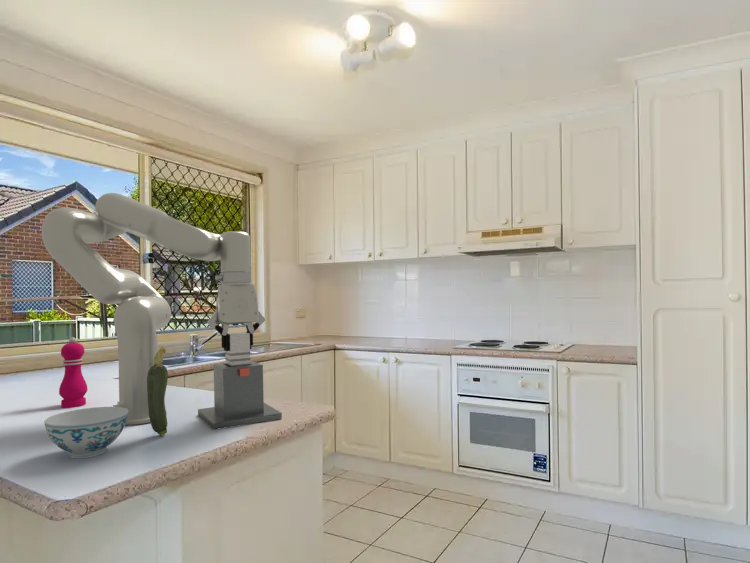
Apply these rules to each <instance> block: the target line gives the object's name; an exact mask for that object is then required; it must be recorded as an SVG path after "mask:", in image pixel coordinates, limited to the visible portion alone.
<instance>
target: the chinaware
mask: <svg viewBox="0 0 750 563" xmlns="http://www.w3.org/2000/svg"><path fill="white" fill-rule="evenodd" d="M127 417H128V409H126V408H122V407H113V406H96V407H88V408H81V409H79V408H78V409H73V410H68V411H64V412H60V413H56V414H54V415H51V416H49V417H47V418H46V419H45V420H44V422H43V423H44V426H45V430H46V432H47V435H48V437H49V438H50V440H51V441H52V443H53V444H54V445H56V447H58V448H60V449H61V450H63V451H65V452H67V453H68V454H69V457H70V458H73V459H85V458H92V457H96V456H99V455H102V454H104V453H106V452H107V450H108V446H110V445H112V443H114V442H115V441H116V440H117V438H118V437H119V436H120V435H121V434H122V432H123V430H124V428H125V426H126V425H125V424H126V421H127Z"/></svg>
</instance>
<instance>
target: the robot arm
mask: <svg viewBox="0 0 750 563" xmlns="http://www.w3.org/2000/svg"><path fill="white" fill-rule="evenodd" d="M94 209H95V211H92V212H88V211H85V210H81V209H77V208H72V207H59V208H55V209H52V210H51V211H50V212H48V213H47V214H46V216H45V217H44V220H43V222H42V225H41V238H42V242H43V244H44V247H45V249H46V251H47V252H48V253H49V255H50V256H51V257H52V258H53V260H54V261H55V262H56V263H57V264H58V265H60V266H61V268H63V269H64V270H65V271H66V272H67V273H68V274H69V275H70V276H72V278H73V279H74V280H75V281H76V282H77V283H78V284H79V285H80V286H81V287H82V288H83V289H85V290H86V292H88V294H90V296H91V297H92V298H93V299H95V300H96V301H97V302H99V303H101V304H104V305H118V306H117V307H116V309H115V312H114V314H113V315H114V316H113V320H114V322H113V324H114V328H115V333H116V339H117V350H118V351H117V352H118V353H117V355H118V358H117V359H118V396H119V397H118V398H119V401H117V402H116V403H117V404H113V406H112V407H122V408H126V409H128V417H127V421H126V424H125V426H130V425H131V426H132V425H133V426H134V425H142V424H148V423H151V422H150V418H149V408H148V395H147V375H148V371H149V369H150V368H151V367H152V366H153V365H154V357H155V355H156V353H157V352H158V350H160V348H159V346H160V345H159V340H158V336H157V331H158V330H161V329H163V328H164V327H166V326H167V325H169V323H170V321H171V318H172V309H171V307H170V304H169V303H168V300H166V299H165V298H164V297H163V296H162V295H161V294H160V293H159V292H158V291H157V290H156V289H155V288H154V287H153V286H151V284H150V283H148V282H147V281H146V280H145V278H143V277H142V276H141V275H140V274H138V273H137V272H135V271H132V270H129V269H126V268H117V267H115V266H113V265H112V264H111V263H109V262H108V261H107V260H106V259H105V258H103V256H102V255H101V254H100V253H99V252H98V251H97V250H95V249H94V248H93V247H91V246H90V244H91V245H92V244H93V245H94V244H98V243H102V242H104V241H107V240H110V239H113V238H115V237H119V236H121V235H124V234H126V233H129V234H131V235H135V236H136V237H138V238H141V239H143V240H146V241H148V242H150V243H152V244H157V245H158V246H161V247H162V248H166V249H167V250H170V251H173V252H175V253H178V254H179V255H183V256H186V257H188V258H190V259H194V260H199V261H200V260H201V261H205V262H215V261H220V273H219V274H216V275H215V277H214V278H215V281H219V282H220V284H219V285H218V287H217V293H216V302H215V303H216V305H215V311H214V313H213V314H212V315H211V317H210V318H208V321H207V325H209V326H210V327H211V328H213V329H214V330H216V332H218V334H220V335H221V336H220V337H221V339H220V340H221V348H222V349H223V351H224V352H225V351H229V335H228V333H229V332H228V331H229V327H230V324H231V325H233V324H236V325H237V324H244V325H245V328H246V333H250V350H252V346H254V334H255V332H256V331H257V329H258V328H259V327H260V326H261V325H262V324H264V323H265V321H266V318H265V317H264V316H263V315H262V313H260V311H259V302H258V296H257V295H258V293H257V289H256V285H255V284H252V265H251V264H252V260H251V258H252V255H251V253H252V251H251V250H252V248H251V236H250V234H249V233H248V232H245V231H236V230H235V231H233V230H232V231H225V232H223V233H214V232H211V231H208V230H206V229H205V230H204V229H203V228H202V229H201V228H199V227H196V226H193V225H190V224H188V223H185V222H183V221H182V220H178V219H176V218H174V217H171V216H170V215H168V213H167V212H165V211H163V210H161V209H158V208H156V207H154V206H151V205H148V204H146V203H143V202H140V201H139V200H136V199H134V198H133V197H132V198H131V197H129V196H125V195H123V194H121V193H116V192H108V193H105V194H102V195H101V196H100V197H99V198H98V199H96V202H95V207H94ZM218 323H220V324H221V325H219V324H218ZM166 416H167V413H166Z"/></svg>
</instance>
